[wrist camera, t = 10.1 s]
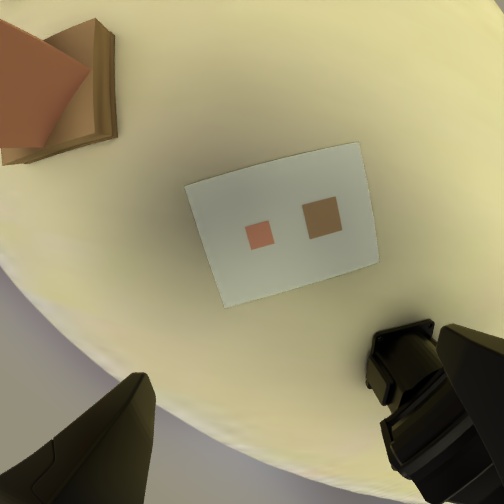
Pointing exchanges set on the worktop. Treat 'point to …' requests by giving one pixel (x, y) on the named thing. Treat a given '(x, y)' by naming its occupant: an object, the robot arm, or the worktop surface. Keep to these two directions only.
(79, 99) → the base brick
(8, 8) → the worktop surface
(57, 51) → the tall brick
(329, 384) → the worktop surface
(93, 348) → the worktop surface
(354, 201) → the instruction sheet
